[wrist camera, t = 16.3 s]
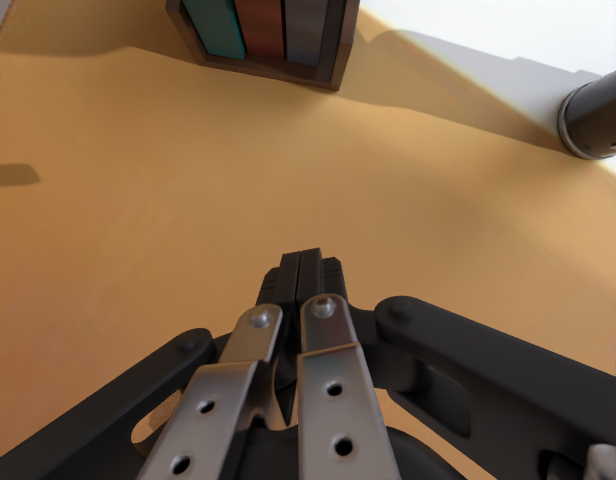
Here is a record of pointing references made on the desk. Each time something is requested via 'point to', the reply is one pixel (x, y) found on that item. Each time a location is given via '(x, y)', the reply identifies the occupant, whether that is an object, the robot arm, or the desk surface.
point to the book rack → (283, 39)
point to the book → (218, 26)
